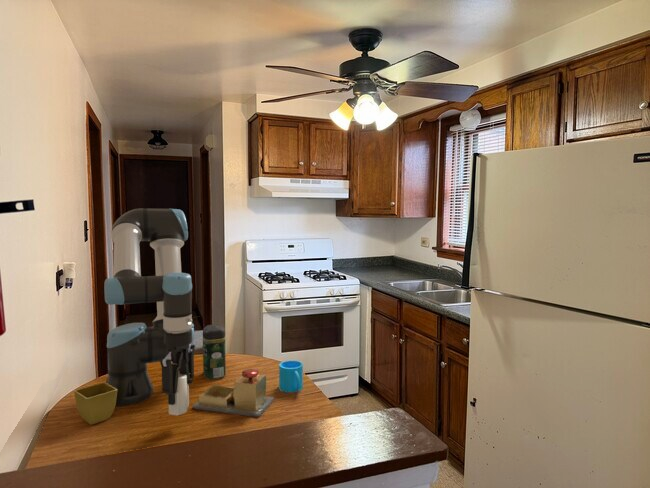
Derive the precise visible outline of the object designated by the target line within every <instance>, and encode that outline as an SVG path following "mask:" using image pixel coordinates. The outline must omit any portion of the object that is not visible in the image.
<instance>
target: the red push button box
mask: <svg viewBox="0 0 650 488" xmlns="http://www.w3.org/2000/svg"><path fill="white" fill-rule="evenodd" d="M233 384H234V386H229V385H221V384H213V385H211V386H210V387H209V388H208V389H206V390H205V391H204V392H202V393H201V394H200V395H198V396H199V397H198V401H196V402H195V403H193V404H192V407H193V409H196V410H204V411H211V412H217V413H218V412H219V413H224V414H225V413H226V414H232V415H240V416H245V417H246V416H248V417H253V418H254V417H255V418H260V417H261V416H262V415H264V413H265V411H266V410H268V408H269V407H270V406H271V405H272V404H273V402H274V401H275V397H273V396H267V375H266V374H260V370H258V369H255V368H254V369H252V368H249V369H248V368H247V369H245V370H243V371H241V376H240V377H238V379H236V380H235V381H234V382H233Z"/></svg>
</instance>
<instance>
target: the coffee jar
mask: <svg viewBox="0 0 650 488" xmlns="http://www.w3.org/2000/svg"><path fill="white" fill-rule="evenodd" d="M202 362H203V363H202V369H203V370H202V371H203V372H202V373H203V376H204V378H205V379H207V380H219V379H222V378H225V376H226V372H227V371H226V370H227V369H226V330H225V328H224V327H222V326H221V325H220V324H217V323H216V324H208V325H206V326H204V328H202Z"/></svg>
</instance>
